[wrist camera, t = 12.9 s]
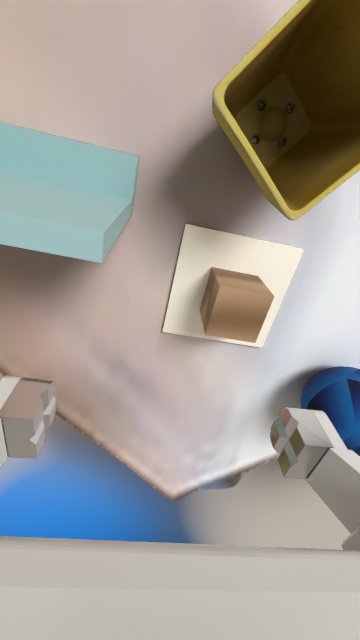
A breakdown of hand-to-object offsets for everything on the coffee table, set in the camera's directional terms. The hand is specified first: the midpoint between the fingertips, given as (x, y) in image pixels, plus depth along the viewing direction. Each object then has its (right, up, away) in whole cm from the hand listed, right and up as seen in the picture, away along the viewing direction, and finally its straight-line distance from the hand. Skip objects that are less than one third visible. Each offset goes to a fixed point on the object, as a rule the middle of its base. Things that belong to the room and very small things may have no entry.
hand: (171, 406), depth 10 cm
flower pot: (+8, +19, +13) cm, 24 cm away
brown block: (+5, +6, +20) cm, 21 cm away
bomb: (+20, -5, +27) cm, 34 cm away
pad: (+5, +6, +20) cm, 22 cm away
